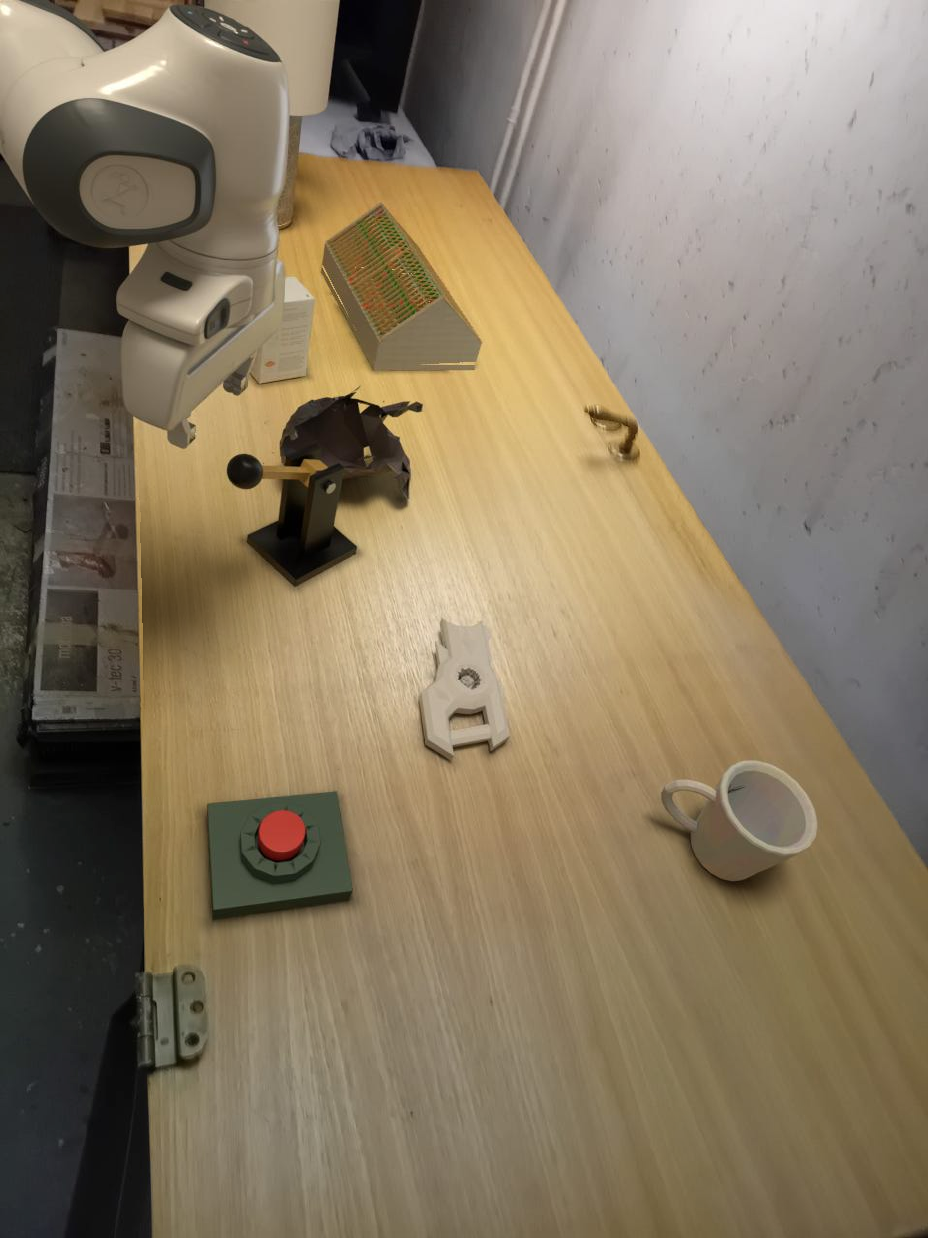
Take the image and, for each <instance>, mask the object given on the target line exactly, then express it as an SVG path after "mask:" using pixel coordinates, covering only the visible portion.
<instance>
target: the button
mask: <svg viewBox="0 0 928 1238" xmlns="http://www.w3.org/2000/svg"><path fill="white" fill-rule="evenodd" d="M304 837H305V825H304V823H303V821H302V820H301V818H300V817H299V816H298V815H296V814H295V813H293V812H290V811H286V810H280V811H275V812H272V813H270V814H269V815H267V816H266V817H265V818H264V819H263V821H262V822H261V824H260V827H259V833H258V845H259V848H260V850H261V851H262V853H263V854H264V855H265V856H267V857H268V858H270V859H273V860H279V861H281V860H287V859H290V858H292V857H294V856H295V855H296V854H297V853H298V852H299V851H300V849H301V848H302V845H303V841H304Z"/></svg>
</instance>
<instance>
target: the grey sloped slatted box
mask: <svg viewBox="0 0 928 1238" xmlns="http://www.w3.org/2000/svg"><path fill="white" fill-rule="evenodd" d="M322 265H323V266H324V268H325V270H326V272H327V274H328V276H329V278H330V280H331V282H332V284H333V286H334V288H335V290H336V292H337V294H338V295H339V297H340V299H341V301H342V303H343V305H344V307H345V309H346V311H347V313H348V315H347V313H346V311H345V309H344V307H343V305H342V304H341V302H340V300H339V298H338V296H337V294H336V292H335V290H334V289H333V287H332V285H331V283H330V281H329V279H328V277H327V276H326V274H325V272H324V270H323V268H322V267H321V269H320V273H321V275H322V277H323V278H324V280H325V282H326V284H327V286H328V288H329V290H330V292H331V293H332V295H333V298H334V299H335V301H336V303H337V304H338V307H339V308H340V310H341V312H342V314H343V316H344V318H345V319H346V322H347V323H348V325H349V328H350V329H351V331H352V333H353V335H354V337H355V338H356V340H357V343H358V344H359V346H360V348H361V350H362V352H363V354H364V355H365V358H366V360H367V362H368V364H369V366H370V367H371V369H372V371H377V372H378V371H474V370H475V368H476V364H475V365H426V364H439V363H460V362H462V363H463V362H476V363H477V361H478V358H479V354H480V351H481V348H482V344H483V340H482V339H481V337H480V336H479V335H478V333H477V331H476V330H475V329H474V326H472V324H471V322H470V320H469V319H468V317H466V315H465V314H464V311H462V310H461V307H460V306H459V305H458V303H457V302H456V300H455V299H454V297H453V296H452V294H451V293H450V291H449V289H448V288H447V287H446V286H445V284H444V282H443V280H442V279H441V278H440V276H439V275H438V273H437V272H436V271H435V268H434V267H433V266H432V264H431V262H430V261H429V260H428V258H427V257H426V255H425V254H424V252H423V251H422V249H421V247H420V246H419V245H418V244H417V243H416V242H415V240H414V239H413V238H412V236H410V234H409V233H408V232H407V231H406V230H405V229H404V227H403V226H402V225H401V224H400V222H399V221H398V220H397V219H396V217H394V215H393V214H392V213H391V212H390V210H389V209H388V208H387V207H386V206H385V204H384V203H383V202H382V201H380V202H379V203H378V204H376V205H375V206H374V207H372V208H371V209H369V210H367V211H366V212H365V213H363V214H362V215H361V216H359V217H357V219H355V220H353V221H352V222H351V223H349V224H348V225H346V226H345V227H343V228H342V229H341V230H340V231H338V232H337V233H336V234H334V235H333V236H330V238H328V239H327V240H325V241H324V247H323V255H322V262H321V266H322ZM355 267H356V268H355ZM361 267H364V268H361ZM392 269H395V270H392ZM400 269H402V270H400ZM402 273H405V274H402ZM408 273H409V274H408ZM411 273H412V274H411ZM399 276H400V277H399ZM429 301H430V302H429ZM348 316H349V317H348ZM353 325H354V326H353ZM354 327H355V328H354ZM355 329H356V330H355ZM421 364H422V365H421ZM423 364H425V365H423Z"/></svg>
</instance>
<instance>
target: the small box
mask: <svg viewBox="0 0 928 1238" xmlns="http://www.w3.org/2000/svg"><path fill="white" fill-rule="evenodd" d="M315 303H316V298H315V297H314V296H313V295H312V293H311V292H310V291H309V290H308V289H307V288H306V287H305V286H304V285H303V284H302V282H301V281H299V279H298V278H297V277H296V276H294V275H293V276H285V299H284V313H283V319H282V322H281V325H280V327H279V329H278V331H277V332H276V333H275V334H274V335H273V336H272V337H271V338H270V339H269V340H268V341H267V342H266V343H264V344H263V345H262V346H261V347H260V348H259V349H258V353H257V356H256V358H255V361H254V363H253V366H252V369H251V371H250V373H249V374H250V375H251V376H252V377H253V379H254V380H255V381H256V382H257V383H258V384H260V385H261V384H267V383H271V382H278V381H284V380H288V379H295V378H303V377H306V375H307V370H308V369H307V367H308V359H309V352H310V344H311V336H312V327H313V320H314V311H315Z"/></svg>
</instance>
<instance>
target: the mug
mask: <svg viewBox="0 0 928 1238" xmlns="http://www.w3.org/2000/svg"><path fill="white" fill-rule="evenodd" d="M682 791H683V792H684V791H685V792H686V791H687V792H692V793H696V794H698V795H700V796H703V797H704V798H705V799H707V801H706V802H705V804H704V806H703V807H702V808H701V811H700V812H699V814H698V816H697V817H696V820H694V819H692V818H691V817H689V816H688V815H687V814H685V813H684V812H683V811H682V810H681V809H679V807H678V806H677V805H676V803H674V800H673V794H675V793H678V792H682ZM660 797H661V803H662V805H663V807H664V810H665V811H666V812H667V813H668V814H669V816H670V817H671V818H672V819H673V820H674V821H675V822H676V823H678V824H680V825H681V826H682V827H684V828H686V829H687V830H689V831H690V844H691V845H690V846H691V849H692V851H693V854H694V856H695V857H696V859H697V860H698V862H699V863H700V865H701V866H702V867H703V868H705V870H707V871H708V872H709V873H710V874H711V875H713V876H715V877H717V878H719V879H720V880H724V881H729V882H738V881H744V880H746V879H748V878H751V877H753V876H754V875H757V874H759V873H761V872H763V871H765V870H767V869H768V870H769V868H772V867H774V866H776V865H778V864H780V863H782V862H785V861H788V860H789V859H791V858H793V857H795V856H798V855H800V854H801V853H803V852H805V851H807V850H808V849H809V848H810V847H811V846H812V844H813V842H814V841H815V839H816V837H817V832H818V825H819V823H818V819H817V813H816V809H815V807H814V805H813V803H812V801H811V799H810V797H809V795H808V794H807V792H805V789H803V787H802V786H801V785H800V784H799V782H798V781H797V780H795V779H794V778H793V777H792V776H791V775H789V774H788V773H787V772H785V771H784V770H782V769H781V768H778V767H777V766H775V765H773V764H771V763H768V762H765V761H760V760H757V759H756V760H755V759H754V760H741V761H739V762H737V763H734V764H732V765H730V766H729V767H728V768H727V769H726V770H725V772H724V773H723V774H722V775H721V777H720V779H719V780H718V782H717V784H716V785H715V787H714V788H713V787H711V786H709V785H707V784H705V783H703V782H700V781H696V780H691V779H675V780H673V781H670V782H668V783H666V784H665V786H664V787H663V789H662V791H661V793H660Z"/></svg>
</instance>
